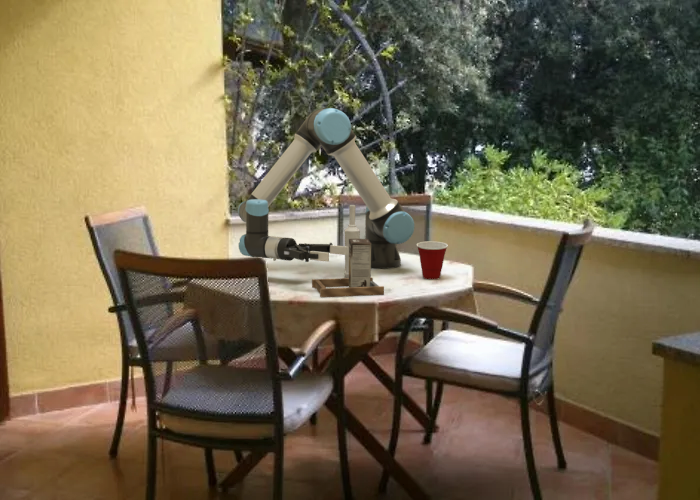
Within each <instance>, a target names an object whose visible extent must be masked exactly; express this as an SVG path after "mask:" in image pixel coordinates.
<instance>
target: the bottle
mask: <svg viewBox="0 0 700 500" xmlns="http://www.w3.org/2000/svg"><path fill="white" fill-rule="evenodd" d="M356 208H357V205H355V204H350V205H349V209H348V210H349V220H348V221H349V224H348V227H346V229H345V230H344V246H346V247H349V239H361V238H360V237H361V234H360V233H361V230H360V229H359V228H358V227H357V225H356V210H357V209H356ZM343 274H344V275H343V276H344V278H349V255H344V273H343Z"/></svg>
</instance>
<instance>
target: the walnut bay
mask: <svg viewBox="0 0 700 500" xmlns="http://www.w3.org/2000/svg"><path fill="white" fill-rule="evenodd" d="M311 288H313V289H316V291H317V292H318V293H319V298H335V297H337V298H338V297H361V296H362V297H363V296H364V297H365V296H385V286H383V285H378V284H377V283H376V282H375V281H374V277H372V276H371V278H370V287H349V278H345V277H344V278H340V277H339V278H338V277H337V278H316V279H315V278H314V279H311Z"/></svg>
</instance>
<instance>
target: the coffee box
mask: <svg viewBox="0 0 700 500" xmlns="http://www.w3.org/2000/svg"><path fill="white" fill-rule="evenodd" d="M371 269H372V268H371V243H370V241H369V240H368V239H365V238H360V239H349V286H348V287H370V278H371V277H372V275H371V274H372V273H371V271H372V270H371Z"/></svg>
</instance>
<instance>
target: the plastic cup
mask: <svg viewBox="0 0 700 500" xmlns="http://www.w3.org/2000/svg"><path fill="white" fill-rule="evenodd" d="M415 245H416V247H417V251H418V254H419V255H418V256H419V260H420V261H419V263H420V268H421V273H422V278H423V279H424V280H438V278H439V279H440V278H441V275H442V274H441V273H442V270H443V265H444V260H445V256H446V255H445V254H446V251H447V248H448V246H449V245H448V243H446V242H442V241H435V240H434V241H433V240H432V241H431V240H430V241H427V240H426V241H421V242H417V243H416V244H415Z"/></svg>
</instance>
